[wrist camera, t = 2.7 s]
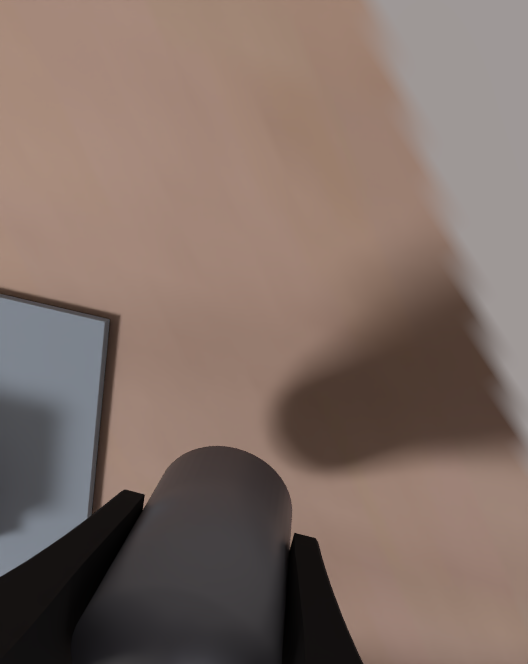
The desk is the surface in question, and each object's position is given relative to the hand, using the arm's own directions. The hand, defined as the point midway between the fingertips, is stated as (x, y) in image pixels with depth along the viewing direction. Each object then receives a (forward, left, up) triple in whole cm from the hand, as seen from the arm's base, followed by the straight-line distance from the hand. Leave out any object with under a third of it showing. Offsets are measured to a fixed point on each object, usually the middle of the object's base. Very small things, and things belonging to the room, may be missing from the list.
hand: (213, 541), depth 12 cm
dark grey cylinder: (0, 0, -2) cm, 2 cm away
